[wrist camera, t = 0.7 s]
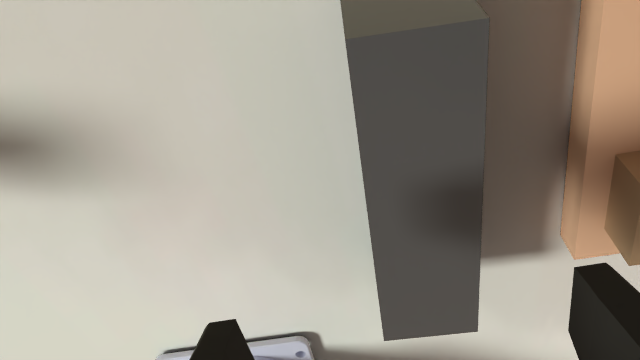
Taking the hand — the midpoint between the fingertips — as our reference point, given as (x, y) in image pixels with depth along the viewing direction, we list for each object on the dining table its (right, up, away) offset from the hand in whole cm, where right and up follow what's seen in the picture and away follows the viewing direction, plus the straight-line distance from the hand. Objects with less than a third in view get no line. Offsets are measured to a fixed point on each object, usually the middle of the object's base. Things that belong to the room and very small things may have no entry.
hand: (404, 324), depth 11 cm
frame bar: (+1, +5, +9) cm, 10 cm away
